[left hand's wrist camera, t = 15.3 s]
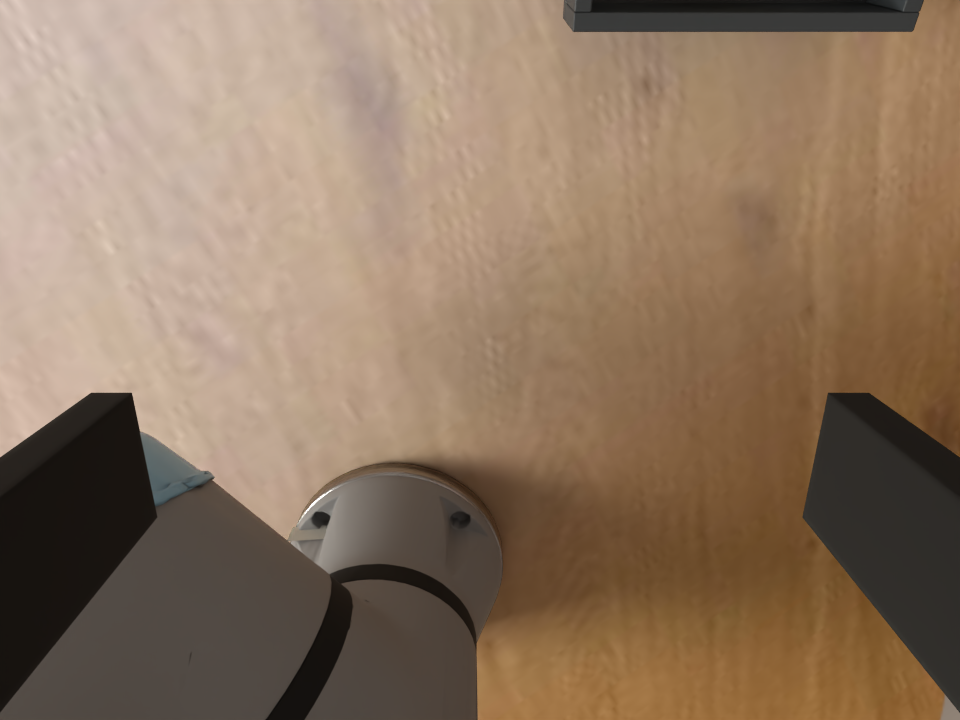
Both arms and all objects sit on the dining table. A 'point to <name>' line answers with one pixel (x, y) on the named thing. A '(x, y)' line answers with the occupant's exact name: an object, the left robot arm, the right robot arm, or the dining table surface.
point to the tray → (741, 15)
